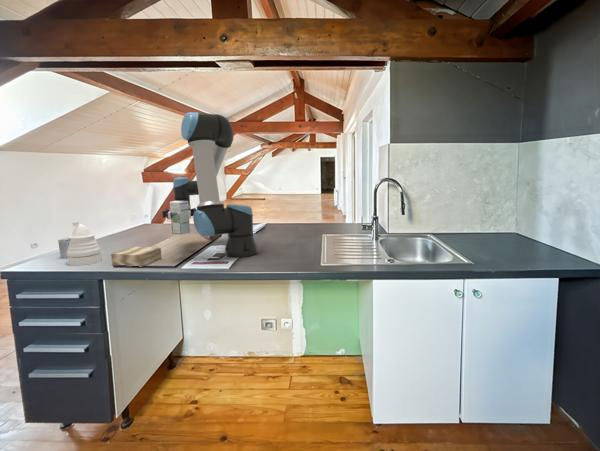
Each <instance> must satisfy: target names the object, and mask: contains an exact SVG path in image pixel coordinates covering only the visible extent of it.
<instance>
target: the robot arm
mask: <svg viewBox="0 0 600 451" xmlns="http://www.w3.org/2000/svg"><path fill="white" fill-rule="evenodd" d="M180 133H181V137H182V140H184V141H187V145H188V147H190V148H191V149H192V155H193V162H194V169H195V178H196V180H190V179H189V177H186V176H185V177H184V176H183V177H174V179H173V185H172V187H173V197H174V200H173V201H188V207H189V212H188V214H189V219H193V226H194V228H195V230H196V232H197V233H198V234H199V235H201V237H213V236H220V235H227V241H226V244H225V249H224V254H225V256H227V257H232V258H244V257H250V256H255V255H256V254H258V246H257V243H256V241H255V237H254V220H253V219H254V218H253V217H254V215H253V209H252V207H251V206H249V205H244V204H232V203H231V204H226V206H225V205H224V202H222V201H221V200H220V193H219V186H218V180H217V177H218V175H219V170H220V169H221V167H222V165H223V164H222V163H223V162H224V159H225V156H226V153H227V151H228V149H230V148H231V146H232V144H233V142H234V141H233V140H234V134H235V133H234V128H233V126H232V123H231V122H230V120H229V119H228V118H227V117H225V116H224V115H221V114H218V113H217V114H215V113H206V112H197V111H196V112H186V113H185V114H184V116H183V117H182V121H181V126H180ZM191 196H198V201H199V203H198V204H197V205H196V207H194V208H192V206H191V200H190V197H191ZM161 214H162V218H166V220H171V211H170V208H169V209H168V208H167V209H165V210H163V211H162V213H161ZM191 217H192V218H191Z"/></svg>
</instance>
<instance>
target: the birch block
mask: <svg viewBox="0 0 600 451" xmlns="http://www.w3.org/2000/svg"><path fill="white" fill-rule="evenodd" d="M110 256H111V265H112V266H117V265H132V266H139V268H141V267H144V266H143V265H145V264H147V265H149V264H152V263H154V262H156V260H157V261H159V260H161V259H162V248H161V247H153V246H149V247H148V246H132V247H127V248H126V249H122V250H119V251H115V252H113V253H111V254H110ZM151 262H152V263H151ZM148 263H149V264H148ZM132 266H131V267H132ZM145 266H146V265H145Z"/></svg>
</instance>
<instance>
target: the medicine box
mask: <svg viewBox="0 0 600 451" xmlns="http://www.w3.org/2000/svg"><path fill="white" fill-rule="evenodd" d="M57 242H58V249H59V256H60V257H59V258H61V259H67V250H68V247H69V243H70V239H69V238H68V237H66V238H62V239H58V241H57Z"/></svg>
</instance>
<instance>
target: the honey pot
mask: <svg viewBox="0 0 600 451" xmlns="http://www.w3.org/2000/svg"><path fill="white" fill-rule="evenodd" d="M79 223H80V221H72V222H71V224H72V226H74V227H75V229H74V230H73V232H72V235H69V236H67V238H69V239H70V243H69V247H68V250H67V258H66V259H67V264H68V266H85V265H92V264H96V263H99V262H101V261H102V259H103V258H102V252H101V250H102V249H101V247H100V246H99V243H98V240H96V238H95V236H96V234H94V233H92V231H91V230H90V229H89V228H88V227H87V225H84V224H79Z"/></svg>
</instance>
